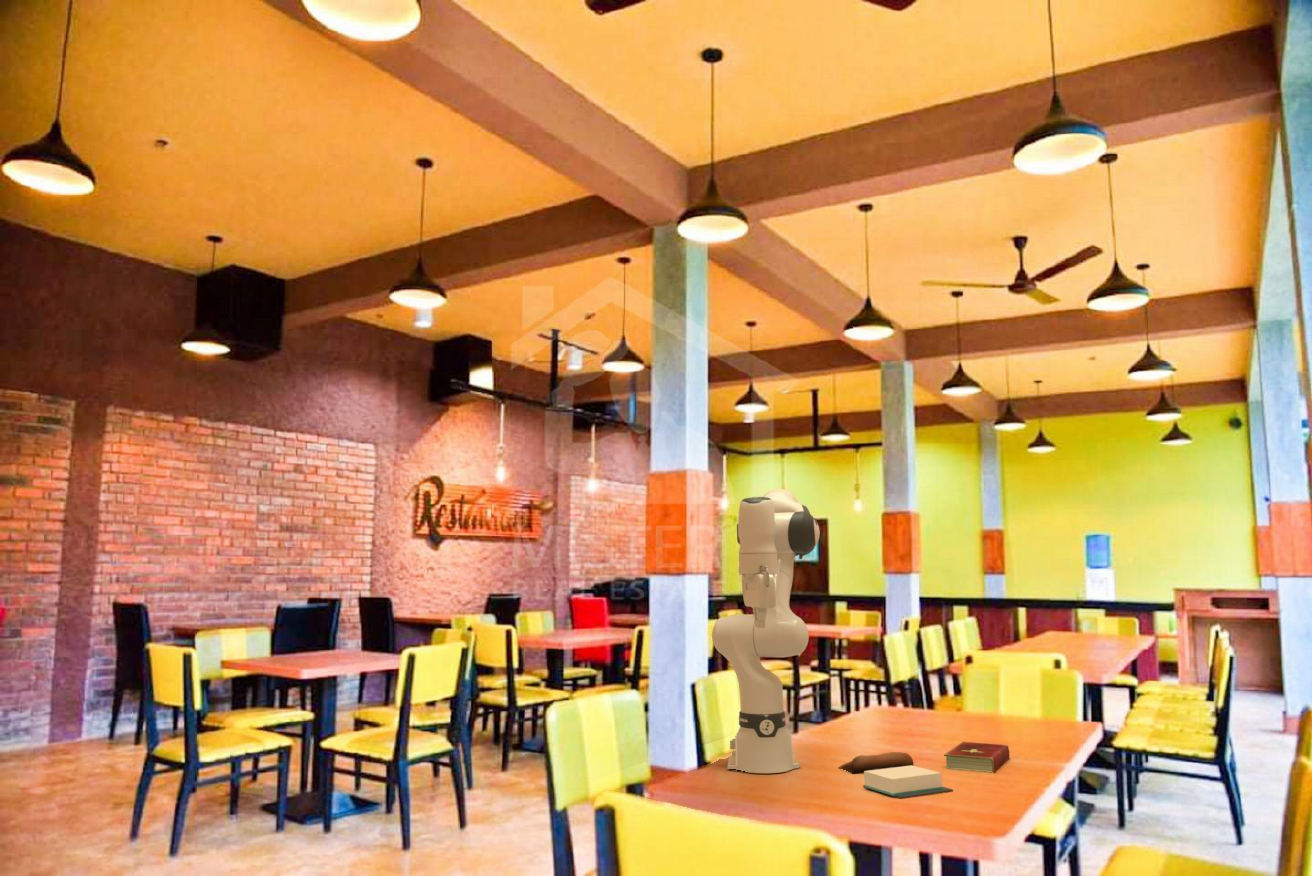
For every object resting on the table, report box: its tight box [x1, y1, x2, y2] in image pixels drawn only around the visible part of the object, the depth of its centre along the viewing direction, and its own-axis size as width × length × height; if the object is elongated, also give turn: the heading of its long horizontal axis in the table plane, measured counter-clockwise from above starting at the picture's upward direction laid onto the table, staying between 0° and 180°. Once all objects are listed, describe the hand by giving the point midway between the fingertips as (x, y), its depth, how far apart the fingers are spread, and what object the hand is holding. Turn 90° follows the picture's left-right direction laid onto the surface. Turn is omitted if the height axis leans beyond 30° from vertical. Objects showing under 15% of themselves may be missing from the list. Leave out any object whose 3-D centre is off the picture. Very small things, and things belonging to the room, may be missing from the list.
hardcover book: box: [943, 741, 1010, 774], centre depth 235 cm, size 12×21×4 cm, turn 149°
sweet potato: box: [838, 751, 914, 775], centre depth 231 cm, size 18×7×7 cm, turn 110°
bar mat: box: [863, 784, 954, 800], centre depth 207 cm, size 15×13×1 cm
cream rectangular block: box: [863, 765, 943, 797], centre depth 207 cm, size 4×10×14 cm
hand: (760, 627), depth 206 cm, fingers closed
